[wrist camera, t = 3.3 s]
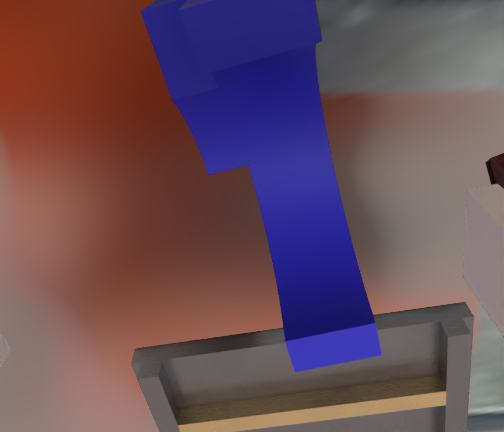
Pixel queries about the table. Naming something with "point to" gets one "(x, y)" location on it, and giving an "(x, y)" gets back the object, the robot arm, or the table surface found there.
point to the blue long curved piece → (272, 155)
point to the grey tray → (316, 381)
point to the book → (496, 170)
